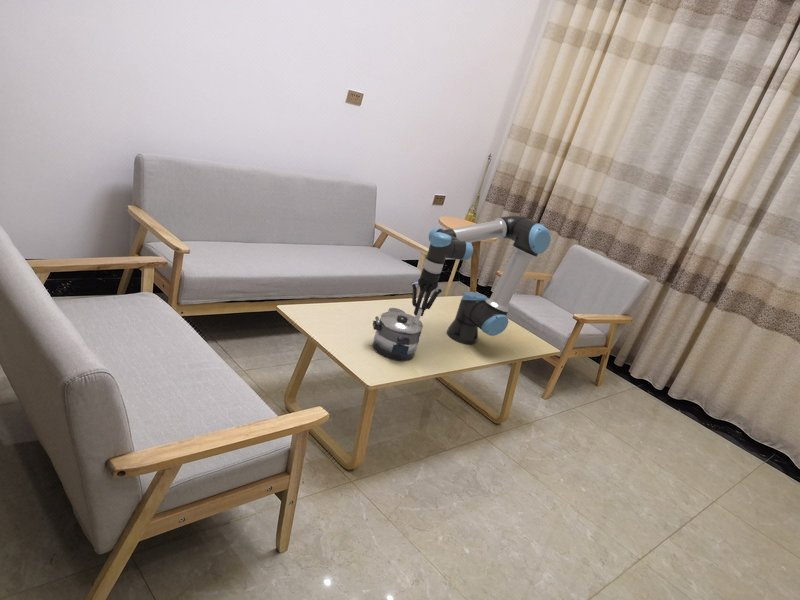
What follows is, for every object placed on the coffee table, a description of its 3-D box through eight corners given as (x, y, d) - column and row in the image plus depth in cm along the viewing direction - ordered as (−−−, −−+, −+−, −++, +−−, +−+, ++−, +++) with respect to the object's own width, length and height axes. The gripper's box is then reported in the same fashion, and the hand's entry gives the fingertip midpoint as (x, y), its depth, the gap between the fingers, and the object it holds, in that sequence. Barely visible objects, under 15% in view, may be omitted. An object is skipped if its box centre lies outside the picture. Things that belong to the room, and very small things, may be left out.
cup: (398, 337, 244) (404, 317, 240) (381, 331, 245) (386, 311, 241) (401, 330, 251) (407, 311, 248) (385, 325, 252) (390, 306, 249)
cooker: (409, 341, 243) (416, 317, 239) (419, 367, 222) (427, 341, 218) (365, 333, 238) (371, 308, 234) (370, 359, 217) (378, 333, 213)
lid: (417, 319, 236) (419, 311, 235) (425, 337, 220) (427, 329, 219) (373, 313, 232) (375, 305, 231) (378, 331, 216) (380, 323, 214)
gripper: (444, 270, 224) (428, 321, 232) (415, 264, 220) (399, 315, 229) (449, 276, 217) (432, 328, 225) (418, 270, 214) (402, 323, 222)
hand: (415, 322), depth 227 cm, fingers closed
